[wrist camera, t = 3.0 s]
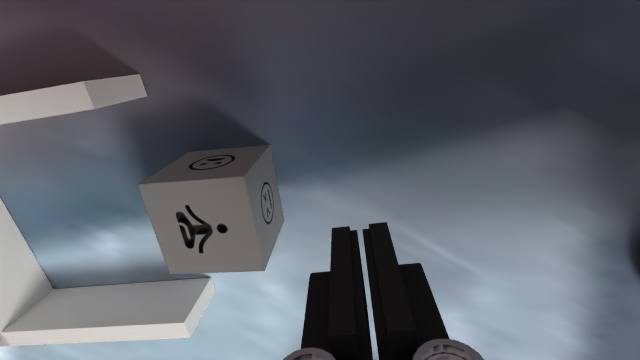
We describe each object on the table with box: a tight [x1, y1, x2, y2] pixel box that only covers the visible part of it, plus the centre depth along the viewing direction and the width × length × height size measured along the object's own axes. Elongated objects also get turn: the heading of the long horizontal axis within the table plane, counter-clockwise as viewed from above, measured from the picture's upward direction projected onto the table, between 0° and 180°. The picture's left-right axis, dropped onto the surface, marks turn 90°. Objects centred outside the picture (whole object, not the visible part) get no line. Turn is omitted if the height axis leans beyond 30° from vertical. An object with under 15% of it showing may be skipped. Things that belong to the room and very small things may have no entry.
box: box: [0, 74, 216, 346], centre depth 19 cm, size 14×15×4 cm
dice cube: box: [138, 144, 284, 274], centre depth 17 cm, size 5×5×5 cm
